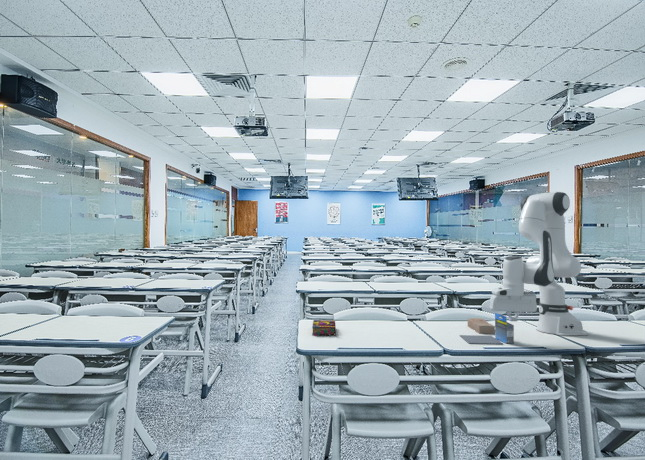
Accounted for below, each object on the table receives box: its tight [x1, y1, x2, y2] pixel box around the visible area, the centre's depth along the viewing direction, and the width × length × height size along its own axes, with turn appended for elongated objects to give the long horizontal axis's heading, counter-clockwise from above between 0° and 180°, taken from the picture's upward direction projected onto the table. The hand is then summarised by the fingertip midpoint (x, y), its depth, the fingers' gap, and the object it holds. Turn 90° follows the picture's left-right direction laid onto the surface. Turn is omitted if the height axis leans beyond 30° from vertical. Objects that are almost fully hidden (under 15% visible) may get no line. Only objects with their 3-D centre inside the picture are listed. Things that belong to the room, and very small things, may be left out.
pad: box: [459, 334, 504, 345], centre depth 172 cm, size 15×13×1 cm
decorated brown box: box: [311, 319, 337, 337], centre depth 185 cm, size 11×16×5 cm
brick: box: [467, 317, 495, 335], centre depth 192 cm, size 16×8×5 cm, turn 178°
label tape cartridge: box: [494, 312, 515, 345], centre depth 171 cm, size 9×4×12 cm, turn 8°
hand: (513, 321), depth 171 cm, fingers closed
